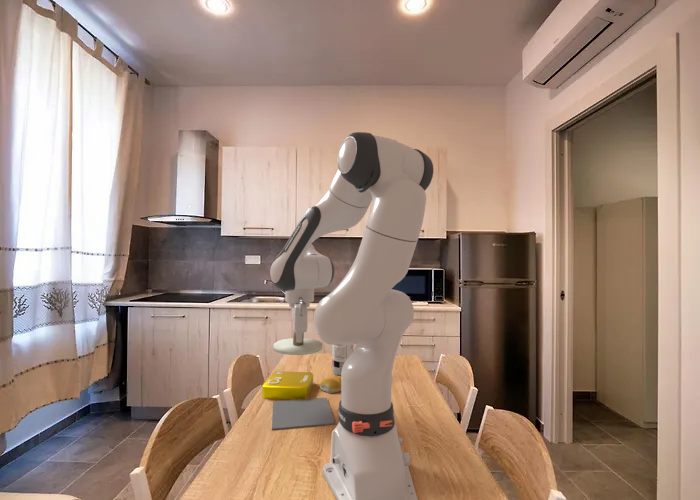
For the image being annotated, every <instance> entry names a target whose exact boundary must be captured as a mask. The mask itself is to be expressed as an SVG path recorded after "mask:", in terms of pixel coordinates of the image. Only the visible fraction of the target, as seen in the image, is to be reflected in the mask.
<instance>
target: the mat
mask: <svg viewBox="0 0 700 500" xmlns="http://www.w3.org/2000/svg"><path fill="white" fill-rule="evenodd" d="M271 417H272V419H271V420H272V423H271V430H272V431H274V430H276V431H277V430H287V429H288V430H289V429H297V428H308V427H319V426H321V427H322V426H331V425H336V421H335V418H334V415H333V412H332V409H331V407H330V403H329V400H328V397H318V398H317V397H315V398H306V399H301V400H278V401H275V400H274V401H272V416H271Z"/></svg>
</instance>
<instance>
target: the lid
mask: <svg viewBox="0 0 700 500" xmlns="http://www.w3.org/2000/svg"><path fill="white" fill-rule="evenodd" d="M292 333H293V334H292V335H293V337H292V338H290V337H289V338H285V339H284V338H283V339H280V340H277V341H275V342H274V343H273V344H272V346H273V351H275V352H276V353H278V354H281V355H289V356H305V355H313V354H316V353H318V352H320V351H322V350H323V343H322V342H321V341H320V340H317V339H314V338H309V337H308V338H307V337H305V332H303V336H302V342H301V343H297V342H296V332H295V331H294V329H293V330H292Z"/></svg>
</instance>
